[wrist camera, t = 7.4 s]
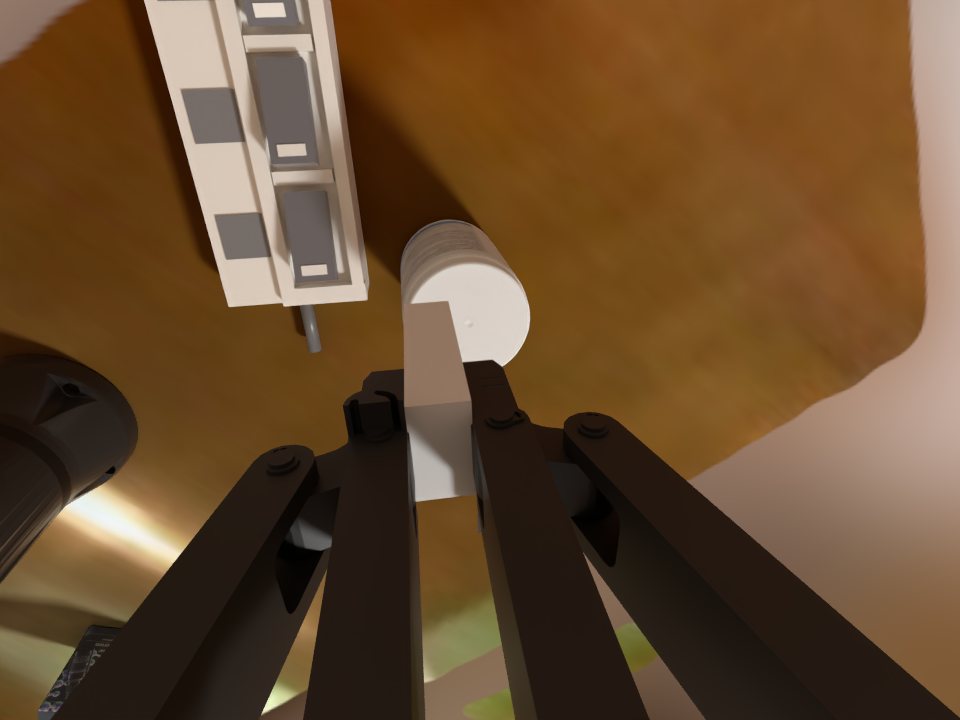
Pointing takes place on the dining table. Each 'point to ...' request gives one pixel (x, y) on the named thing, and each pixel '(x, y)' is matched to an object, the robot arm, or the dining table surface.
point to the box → (77, 668)
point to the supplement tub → (467, 288)
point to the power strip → (260, 148)
